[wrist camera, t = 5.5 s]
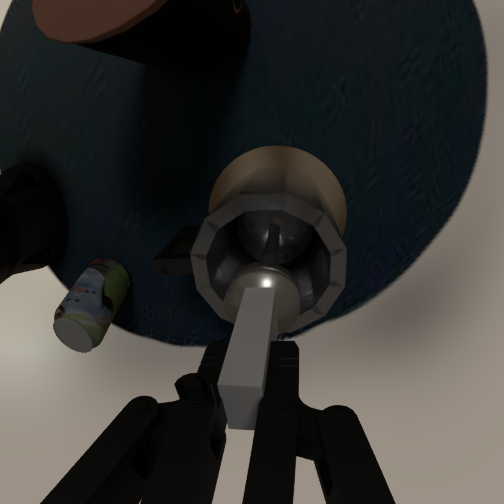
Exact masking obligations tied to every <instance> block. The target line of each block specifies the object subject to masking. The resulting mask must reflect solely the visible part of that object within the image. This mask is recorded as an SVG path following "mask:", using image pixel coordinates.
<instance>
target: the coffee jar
mask: <svg viewBox="0 0 504 504" xmlns="http://www.w3.org/2000/svg"><path fill="white" fill-rule="evenodd" d="M32 10H33V14H34V18H35V21H36V25H37V27H38V28H39V29H40V30H41V31H42V32H43V33H44V34H45V35H46V36H47V37H48V38H49V39H52V40H56V41H60V42H63V43H67V44H77V45H80V46H83V47H86V48H89V49H92V50H96V51H100V52H103V53H107V54H111V55H115V56H118V57H122V58H125V59H129V60H132V61H135V62H138V63H142V64H145V65H148V66H151V67H154V68H157V69H160V70H163V71H166V72H169V73H172V74H174V75H177V76H189V77H196V76H201V75H206V74H211V73H213V72H215V71H217V70H219V69H221V68H223V67H225V66H227V65H228V64H229V63H230V62H231V61H232V60H233V59H234V58H236V57H237V56H238V55H239V54H240V52H241V51H242V49H243V47H244V46H245V44H246V43H247V41H248V38H249V34H250V30H251V26H252V25H251V18H250V11H249V9H248V6H247V4H246V2H245V0H33V6H32Z"/></svg>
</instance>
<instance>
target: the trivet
mask: <svg viewBox="0 0 504 504" xmlns="http://www.w3.org/2000/svg"><path fill="white" fill-rule="evenodd" d="M273 166H289V167H291V168H293V169H295V170H297V171H299V172H301V173H303V174H305V175H307V176H309V177H311V178H313V180H314V182H315V183H316V185H317V186H318V188H319V189H320V191H321V192H322V194H323V196H324V197H325V199H326V200H327V202H328V205H329V207H330V209H331V212H332V214H333V216H334V219H335V221H336V224H337V226H338V228H339V231H340V233H341V236H343V233H344V230H345V226H346V218H347V209H346V201H345V197H344V194H343V191H342V188H341V186H340V184H339V182H338V180H337V179H336V177H335V176H334V174H333V173H332V172H331V170H330V169H329V168H328V167H327V166H326V165H325V164H324V163H323V162H321V161H320V160H319V159H318V158H316V157H314V156H313V155H311V154H309V153H307V152H305V151H303V150H300V149H297V148H293V147H288V146H266V147H261V148H257V149H253V150H251V151H249V152H246V153H244V154H243V155H241V156H239V157H238V158H236V159H235V160H234V161H232V162H231V163H230V164H229V165H228V166H227V167H226V168H225V169H224V170H223V171H222V173H221V174H220V176H219V177H218V179H217V181H216V183H215V185H214V187H213V190H212V193H211V196H210V201H209V213H210V212H211V211H212V210H213V209H214V208H215V207H216V205H217V204H218V203H219V202H220V201H221V200H222V199H223V198H224V197H225V195H226V194H227V193H228V192H229V191H230V190H231V189H232V188H233V187H234V185H235V184H236V183H237V182H239V181H240V180H242V179H243V178H245V177H246V176H247V175H249V174H250V173H252V172H253V171H255V170H256V169H258V168H259V167H273Z"/></svg>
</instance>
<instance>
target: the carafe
mask: <svg viewBox="0 0 504 504" xmlns="http://www.w3.org/2000/svg"><path fill="white" fill-rule="evenodd" d="M280 209H281V210H283V211H285V212H287V213H289V214H291V215H293V216H295V217H297V218H299V219H301V220H303V221H305V222H307V223H309V224H311V225H312V226H313V233H312V238H311V241H310V244H309V246H308V247H307V249H306V250H305V251H304V252H303V253H302V254H301V255H300V256H299V257H297V258H296V259H294V260H292V261H290V262H287V263H282V264H279V265H281V266H283V267H284V268H286V269H287V270H289V271H290V272H291V273H292V274H293V276H294V277H295V279H296V280H297V282H298V285H299V289H300V312H299V316H298V318H297V320H296V322H295V323H294V325H293V326H292V327H291V328H290V329H288V330H287V331H285V332H293V331H295V330H297V329H299V328H301V327H303V326H305V325H307V324H309V323H312V322H314V321H316V320H318V319H320V318H322V317H324V316H325V314H326V313H327V311H328V310H329V309H330V307H331V306H332V304H333V303H334V302H335V300H336V299H337V297H338V296H339V294H340V293H341V292H342V290H343V289H344V287H345V276H346V251H347V248H346V246H345V243H344V241H343V238H342V236H341V233H340V231H339V228H338V226H337V224H336V221H335V219H334V216H333V214H332V212H331V209H330V207H329V205H328V202H327V200H326V199H325V197H324V196H323V194H322V192H321V191H320V189H319V188H318V186H317V185H316V183H315V182H314V180H313V178H311V177H309V176H307V175H305V174H303V173H301V172H299V171H297V170H295V169H293V168H291V167H289V166H273V167H259V168H258V169H256V170H255V171H253V172H252V173H250V174H249V175H247V176H246V177H245V178H243V179H242V180H240V181H239V182H237V183H236V184H235V185H234V187H233V188H232V189H231V190H230V191H229V192H228V193H227V194H226V195H225V197H224V198H223V199H222V200H221V201H220V202H219V203H218V204H217V205H216V207H215V208H214V209H213V210H212V211H211V212H210V213H209V215H208V216H207V217H206V218H205V219H204V222H203V224H202V225H193V226H184V227H183V229H182V230H181V231H180V232H179V233H178V234H177V235H176V236H175V237H174V238H173V239H172V240H171V241H170V242H169V243H168V244H167V245H166V246H165V247H164V248H163V249H162V250H161V251H160V252H159V254H158V255H157V256H156V257H155V258H154V259H153V263H154V267H155V271H156V274H194V277H195V283H196V288H197V291H198V292H199V293H200V294H201V295H202V297H203V298H204V299H205V300H206V301H207V302H208V304H209V305H210V306H211V307H212V308H213V310H214V311H215V312H216V313H217V314H218V315H219V317H220V318H222V319H225V320H227V321H229V322H231V321H230V320H229V319H228V317H227V315H226V312H225V309H224V298H225V294H226V292H227V289H228V286H229V284H230V281H231V279H232V277H233V275H234V274H235V273H236V272H237V271H238V270H239V269H240V268H242V267H243V266H245V265H247V264H250V263H253V262H259V261H260V260H258V259H256V258H254V257H253V256H251V255H250V254H249V253H248V252H247V251H246V250H245V248H244V247H243V245H242V244H241V241H240V239H239V236H238V220H239V216H240V214H242V213H243V212H245V211H260V210H280ZM194 241H195V244H194V246H193V248H192V251H191V253H185V252H186V251H187V249H188V248H189V247H190V245H191V244H192V243H193V242H194Z"/></svg>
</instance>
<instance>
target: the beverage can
mask: <svg viewBox="0 0 504 504" xmlns="http://www.w3.org/2000/svg"><path fill="white" fill-rule="evenodd" d="M129 287H130V279H129V276H128V273H127V272H126V270H125V269H124V268H123V266H121V265H120V264H119V263H118V262H116V261H115V260H113V259H110V258H106V257H100V258H96V259H94V260H93V261H92V262H91V263H90V264H89V266H88V267H87V268H86V270H85V271H84V272H83V274H82V275H81V276H80V278H79V279H78V280H77V282H76V283H75V284H74V286H73V287H72V288H71V290H70V291H69V292H68V294H67V295H66V297H65V298H64V300H63V301H62V302H61V304H60V305H59V307H58V308H57V309H56V312H55V317H54V321H55V322H54V324H53V327H54V332H55V334H56V336H57V337H58V338H59V339H60V340H61V342H62V343H63V344H65V345H66V346H67V347H69V348H71V349H72V350H75V351H78V352H82V353H86V352H89V351H91V349H92V348H95V347H97V346H98V345H99V344H100V343H101V342H102V340H103V338H104V336H105V334H106V332H107V330H108V328H109V326H110V324H111V322H112V320H113V318H114V316H115V314H116V312H117V310H118V308H119V307H120V305H121V303H122V301H123V299H124V297H125V295H126V294H127V292H128V290H129Z"/></svg>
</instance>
